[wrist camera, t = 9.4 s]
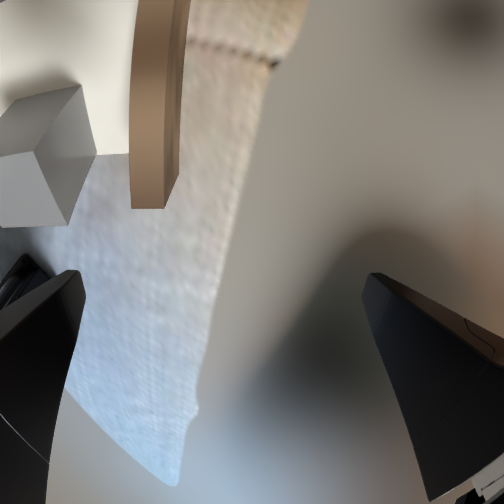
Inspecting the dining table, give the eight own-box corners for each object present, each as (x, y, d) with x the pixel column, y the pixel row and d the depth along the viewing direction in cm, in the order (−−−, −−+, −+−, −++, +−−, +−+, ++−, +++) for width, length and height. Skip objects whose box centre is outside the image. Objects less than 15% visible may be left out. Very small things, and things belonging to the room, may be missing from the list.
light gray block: (97, 152, 17) (67, 225, 13) (36, 158, 16) (1, 227, 13) (81, 85, 12) (33, 151, 9) (15, 99, 12) (-37, 165, 8)
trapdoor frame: (178, 173, 19) (161, 214, 13) (-4, 184, 17) (-60, 222, 10) (195, -34, 12) (189, -89, 6) (0, 10, 10) (-57, 0, 3)
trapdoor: (154, 130, 19) (148, 152, 17) (17, 144, 17) (3, 165, 16) (154, -69, 7) (142, -73, 6) (-20, -11, 5) (-45, 0, 4)
